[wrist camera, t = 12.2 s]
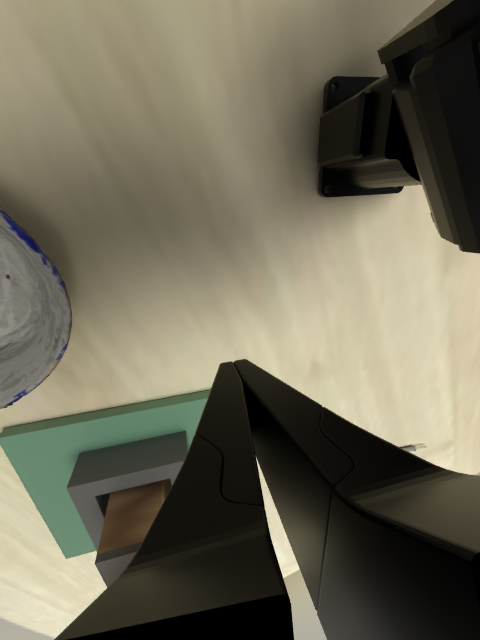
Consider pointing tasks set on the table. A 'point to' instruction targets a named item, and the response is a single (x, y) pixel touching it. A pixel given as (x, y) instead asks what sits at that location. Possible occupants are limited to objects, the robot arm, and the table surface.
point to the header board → (99, 461)
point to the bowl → (28, 313)
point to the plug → (127, 526)
